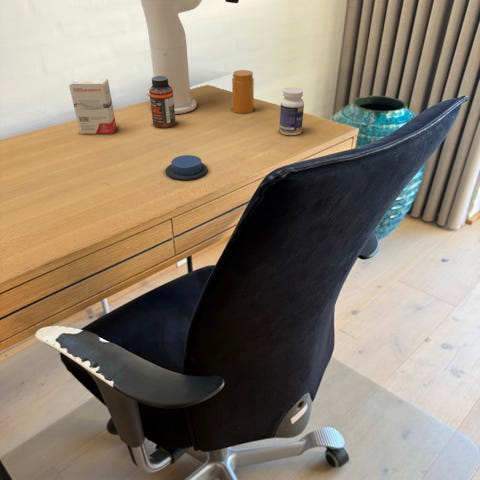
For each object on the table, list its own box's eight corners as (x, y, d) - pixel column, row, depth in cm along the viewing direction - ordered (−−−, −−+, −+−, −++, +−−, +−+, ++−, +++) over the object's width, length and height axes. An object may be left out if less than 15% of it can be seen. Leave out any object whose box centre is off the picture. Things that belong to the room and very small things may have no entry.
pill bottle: (300, 136, 117) (303, 94, 111) (277, 135, 118) (279, 92, 112) (302, 128, 122) (306, 86, 115) (280, 126, 123) (282, 85, 116)
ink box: (117, 126, 124) (108, 77, 116) (113, 134, 120) (103, 83, 112) (84, 127, 124) (73, 78, 116) (79, 134, 120) (67, 84, 112)
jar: (228, 111, 132) (227, 73, 125) (239, 105, 136) (239, 68, 129) (246, 114, 130) (246, 77, 123) (257, 108, 133) (257, 71, 127)
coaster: (157, 174, 102) (157, 172, 102) (182, 159, 108) (182, 157, 108) (191, 184, 99) (190, 182, 98) (215, 168, 104) (215, 166, 104)
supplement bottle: (148, 125, 124) (142, 79, 116) (162, 118, 128) (157, 73, 120) (166, 130, 122) (161, 82, 114) (180, 122, 125) (176, 76, 118)
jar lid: (206, 171, 102) (206, 163, 101) (178, 178, 100) (178, 170, 99) (194, 160, 106) (194, 152, 105) (167, 166, 104) (166, 158, 103)
